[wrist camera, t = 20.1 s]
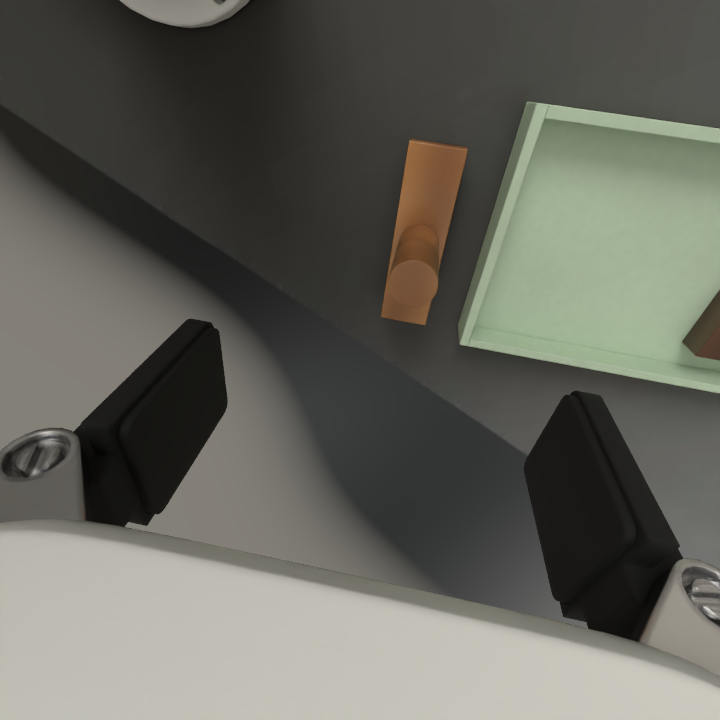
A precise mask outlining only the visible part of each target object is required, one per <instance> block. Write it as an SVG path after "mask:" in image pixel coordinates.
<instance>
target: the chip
mask: <svg viewBox="0 0 720 720" xmlns="http://www.w3.org/2000/svg"><path fill="white" fill-rule="evenodd" d="M682 343H683V344H684V345H685V346H686V347H687V348H688V349H689V350H690V351H691V352H692V353H693V354H694V355H695V356H697V357H702V358H708V359H713V360H719V361H720V290H719V291H718V293H717V294H716V295H715V297H714V298H713V299H712V301H711V302H710V304H709V305H708V306H707V308H706V309H705V310H704V312H703V313H702V315H701V316H700V317H699V319H698V320H697V321H696V323H695V324H694V326H693V327H692V328H691V330H690V331H689V332H688V334H687V335H686V337H685V338H684V339H683V341H682Z"/></svg>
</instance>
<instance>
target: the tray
mask: <svg viewBox="0 0 720 720" xmlns="http://www.w3.org/2000/svg"><path fill="white" fill-rule="evenodd" d="M719 290H720V129H719V128H712V127H705V126H698V125H691V124H683V123H676V122H669V121H662V120H655V119H648V118H641V117H634V116H627V115H620V114H613V113H606V112H599V111H592V110H585V109H578V108H571V107H564V106H557V105H550V104H543V103H535V102H527V103H526V105H525V108H524V112H523V115H522V118H521V121H520V125H519V128H518V131H517V134H516V138H515V141H514V144H513V147H512V151H511V154H510V157H509V160H508V164H507V167H506V170H505V173H504V177H503V180H502V183H501V186H500V190H499V193H498V196H497V199H496V203H495V206H494V209H493V212H492V216H491V219H490V222H489V225H488V229H487V232H486V235H485V238H484V242H483V245H482V248H481V251H480V255H479V258H478V261H477V264H476V268H475V271H474V274H473V278H472V281H471V284H470V287H469V291H468V294H467V297H466V300H465V304H464V307H463V310H462V313H461V317H460V320H459V323H458V332H459V344H460V345H464V346H470V347H475V348H480V349H486V350H491V351H496V352H502V353H507V354H512V355H518V356H523V357H528V358H534V359H539V360H544V361H550V362H555V363H560V364H565V365H571V366H576V367H581V368H587V369H592V370H597V371H603V372H608V373H613V374H619V375H624V376H629V377H635V378H640V379H645V380H651V381H656V382H661V383H667V384H672V385H677V386H682V387H688V388H693V389H698V390H704V391H709V392H714V393H720V361H719V360H713V359H708V358H702V357H697V356H695V355H694V354H693V353H692V352H691V351H690V350H689V349H688V348H687V347H686V346H685V345H684V344H683V343H682V341H683V339H684V338H685V337H686V335H687V334H688V332H689V331H690V330H691V328H692V327H693V326H694V324H695V323H696V321H697V320H698V319H699V317H700V316H701V315H702V313H703V312H704V310H705V309H706V308H707V306H708V305H709V304H710V302H711V301H712V299H713V298H714V297H715V295H716V294H717V293H718V291H719Z"/></svg>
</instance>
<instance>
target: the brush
mask: <svg viewBox="0 0 720 720" xmlns="http://www.w3.org/2000/svg"><path fill="white" fill-rule="evenodd" d="M467 153H468V149H467V147H463V146H456V145H449V144H442V143H436V142H429V141H422V140H415V139H410V141H409V145H408V151H407V157H406V163H405V169H404V176H403V182H402V188H401V194H400V200H399V206H398V213H397V219H396V225H395V231H394V237H393V243H392V250H391V256H390V262H389V268H388V274H387V280H386V287H385V293H384V299H383V305H382V311H381V317H383V318H388V319H394V320H399V321H405V322H410V323H416V324H421V325H426V321H427V317H428V313H429V308H430V304H431V300H432V298H433V297H434V296H435V294H436V292H437V290H438V279H439V268H440V263H441V259H442V255H443V251H444V247H445V243H446V239H447V235H448V231H449V227H450V222H451V218H452V214H453V210H454V206H455V202H456V198H457V194H458V190H459V186H460V181H461V177H462V173H463V169H464V165H465V161H466V157H467Z"/></svg>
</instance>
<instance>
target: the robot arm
mask: <svg viewBox="0 0 720 720" xmlns="http://www.w3.org/2000/svg"><path fill="white" fill-rule="evenodd" d="M120 1H121V2H122V3H123V4H125V5H126V6H127V7H129V8H130V9H132V10H134V11H136V12H138V13H139V14H141V15H143V16H145V17H147V18H149V19H151V20H154V21H157V22H161V23H164V24H168V25H172V26H179V27H186V28H197V27H204V26H211V25H214V24H216V23H218V22H221V21H223V20H225V19H228V18H230V17H231V16H232V15H234V14H235V13H236V12H237V11H239V10H240V9H241V8H242V7H244V6H245V5H246V4H247V3H248V2H249V1H250V0H225V2H224V0H120ZM226 408H227V392H226V384H225V376H224V367H223V360H222V351H221V343H220V335H219V331H218V330H217V329H215V328H214V327H213V325H212V323H210V322H205V321H200V320H195V319H188V320H187V321H185V322H184V323H183V324H182V325H181V326H180V327H179V328H178V329H177V330H176V331H175V332H174V333H173V334H172V335H171V336H170V337H169V338H168V339H167V340H166V341H165V342H164V343H163V344H162V345H161V346H160V347H159V348H157V349H156V350H155V351H154V352H153V354H151V355H150V356H149V357H148V358H147V359H146V360H145V361H144V362H143V363H142V364H141V365H140V366H139V367H138V368H137V369H136V370H135V371H134V372H133V373H132V374H131V375H130V376H129V377H128V378H127V379H126V380H125V381H124V382H123V383H122V384H121V385H120V386H119V387H118V388H117V389H116V390H114V391H113V392H112V393H111V394H110V395H109V396H108V397H107V398H106V399H105V400H104V401H103V402H102V403H101V404H100V405H99V406H98V407H97V408H96V409H95V410H94V411H93V412H92V413H91V414H90V415H89V416H88V417H87V418H86V419H85V420H84V421H83V422H82V423H81V425H80V426H79V427H78V428H77V429H76V430H75V431H74V432H72V431H71V430H67V429H64V428H47V429H41V430H37V431H34V432H31V433H28V434H25V435H23V436H21V437H19V438H17V439H15V440H13V441H12V442H10V443H9V444H8V445H7V446H5V447H4V448H3V449H2V450H1V451H0V720H720V570H719V569H718V568H716V567H714V566H713V565H711V564H708V563H706V562H703V561H700V560H697V559H689V558H686V559H683V557H682V556H681V554H680V552H679V550H678V548H679V547H680V545H679V543H678V541H677V540H676V538H675V536H674V534H673V532H672V530H671V528H670V526H669V524H668V522H667V521H666V519H665V517H664V515H663V513H662V511H661V509H660V507H659V505H658V503H657V502H656V500H655V498H654V496H653V494H652V492H651V490H650V488H649V486H648V484H647V483H646V481H645V479H644V477H643V475H642V473H641V471H640V469H639V467H638V465H637V463H636V462H635V460H634V458H633V456H632V454H631V452H630V450H629V448H628V446H627V444H626V443H625V441H624V439H623V437H622V435H621V433H620V431H619V429H618V427H617V425H616V424H615V422H614V420H613V418H612V416H611V414H610V412H609V410H608V408H607V406H606V405H605V403H604V401H603V399H602V398H601V396H599V395H596V394H591V393H585V392H580V391H574V392H572V393H571V394H570V395H565V396H564V397H563V398H562V399H561V401H560V403H559V404H558V406H557V408H556V410H555V411H554V413H553V415H552V416H551V418H550V420H549V421H548V423H547V425H546V427H545V428H544V430H543V432H542V433H541V435H540V437H539V438H538V440H537V442H536V444H535V445H534V447H533V449H532V450H531V452H530V454H529V455H528V457H527V459H526V461H525V465H524V473H525V478H526V482H527V486H528V491H529V495H530V500H531V504H532V508H533V513H534V517H535V521H536V526H537V530H538V534H539V539H540V543H541V548H542V552H543V556H544V561H545V565H546V570H547V574H548V578H549V583H550V587H551V591H552V595H553V597H554V599H555V600H556V601H560V605H561V609H562V613H563V617H566V618H570V619H575V620H580V621H584V622H587V626H588V629H587V628H583V627H579V626H574V625H571V624H566V623H562V622H558V621H554V620H550V619H546V618H542V617H538V616H533V615H529V614H524V613H520V612H516V611H511V610H506V609H502V608H497V607H493V606H488V605H484V604H480V603H475V602H471V601H466V600H462V599H458V598H453V597H449V596H444V595H440V594H435V593H431V592H427V591H422V590H418V589H413V588H408V587H404V586H399V585H394V584H390V583H385V582H381V581H377V580H372V579H368V578H363V577H358V576H354V575H349V574H345V573H340V572H336V571H331V570H326V569H321V568H317V567H313V566H308V565H304V564H299V563H294V562H290V561H285V560H280V559H276V558H271V557H266V556H262V555H257V554H252V553H248V552H243V551H238V550H233V549H229V548H224V547H220V546H215V545H210V544H205V543H201V542H196V541H192V540H186V539H182V538H177V537H172V536H167V535H162V534H156V533H152V532H147V531H142V530H136V529H131V528H126V527H125V525H126V524H127V522H132V523H136V524H141V525H146V526H147V525H148V524H149V522H150V520H151V519H152V517H153V516H154V514H160V513H161V512H162V511H163V510H164V508H165V507H166V505H167V504H168V502H169V500H170V499H171V497H172V496H173V494H174V493H175V491H176V489H177V488H178V486H179V485H180V483H181V481H182V480H183V478H184V477H185V475H186V473H187V472H188V470H189V469H190V467H191V466H192V464H193V462H194V461H195V459H196V458H197V456H198V454H199V453H200V451H201V449H202V448H203V446H204V445H205V443H206V441H207V440H208V438H209V437H210V435H211V434H212V432H213V430H214V429H215V427H216V426H217V424H218V422H219V421H220V419H221V418H222V416H223V415H224V413H225V411H226Z"/></svg>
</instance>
